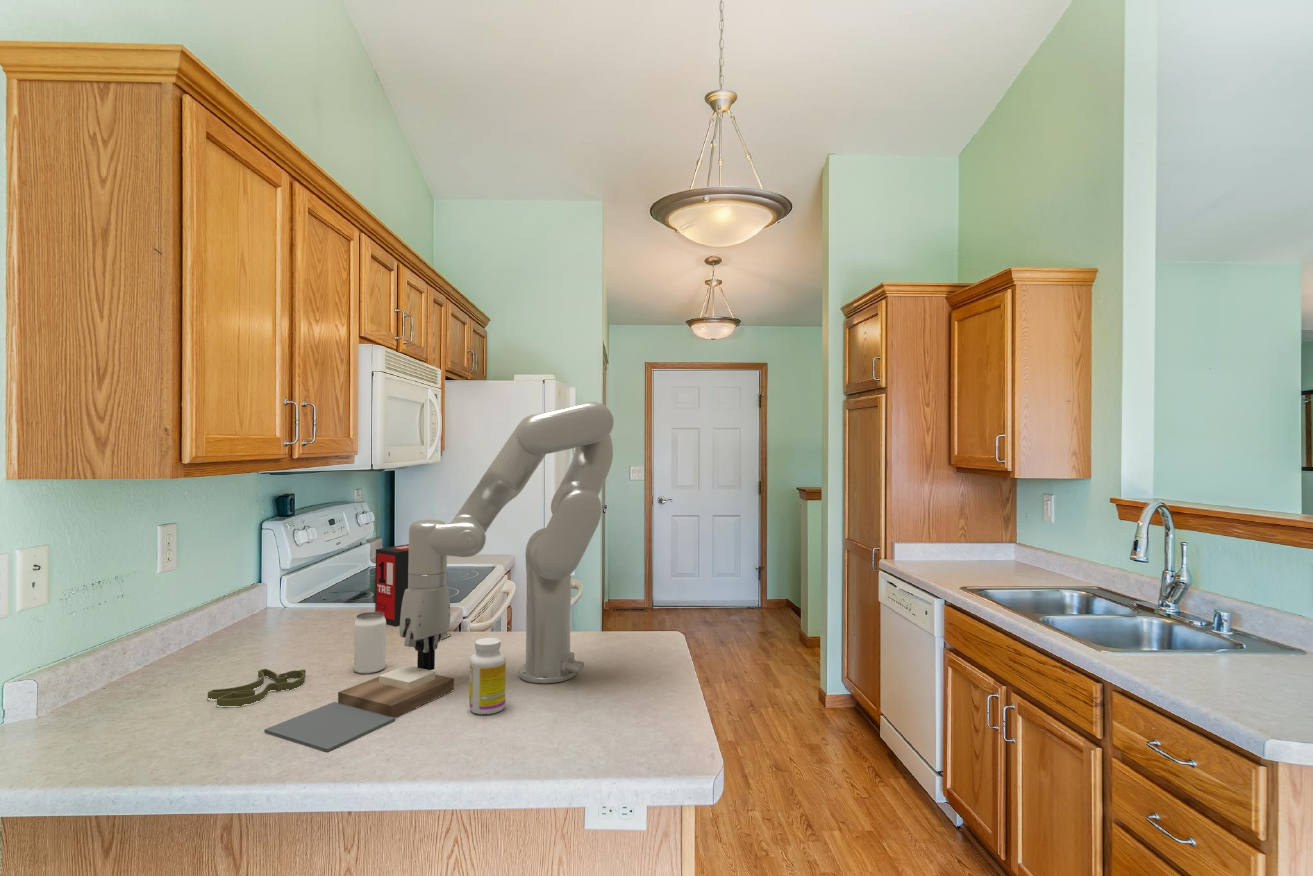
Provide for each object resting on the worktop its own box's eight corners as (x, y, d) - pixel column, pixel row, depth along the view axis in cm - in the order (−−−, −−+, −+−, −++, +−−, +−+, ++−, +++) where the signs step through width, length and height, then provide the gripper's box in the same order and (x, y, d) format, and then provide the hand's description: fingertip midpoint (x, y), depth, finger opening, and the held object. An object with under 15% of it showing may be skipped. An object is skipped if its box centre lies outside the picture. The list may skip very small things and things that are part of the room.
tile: (435, 678, 138) (435, 671, 138) (408, 690, 132) (408, 682, 132) (406, 672, 142) (406, 665, 142) (379, 683, 135) (379, 675, 135)
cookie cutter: (270, 674, 148) (270, 665, 148) (317, 680, 145) (318, 670, 145) (196, 706, 130) (196, 696, 130) (248, 713, 127) (248, 702, 127)
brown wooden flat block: (453, 690, 139) (453, 678, 139) (391, 719, 124) (391, 705, 124) (403, 679, 145) (403, 667, 145) (338, 705, 130) (338, 692, 130)
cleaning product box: (423, 609, 203) (424, 541, 203) (444, 613, 198) (445, 544, 198) (375, 621, 189) (375, 549, 189) (396, 626, 184) (397, 552, 184)
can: (374, 675, 147) (374, 619, 147) (347, 673, 148) (347, 617, 148) (391, 665, 153) (392, 612, 153) (365, 663, 154) (366, 610, 154)
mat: (395, 720, 124) (395, 717, 124) (327, 752, 111) (327, 749, 111) (334, 704, 131) (334, 701, 131) (264, 732, 118) (264, 729, 118)
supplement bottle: (512, 706, 131) (513, 639, 131) (487, 718, 125) (488, 648, 125) (486, 699, 134) (487, 634, 134) (461, 711, 129) (462, 642, 129)
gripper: (440, 572, 150) (438, 656, 150) (385, 585, 136) (383, 677, 136) (466, 576, 146) (465, 662, 146) (413, 589, 133) (411, 684, 133)
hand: (425, 669), depth 141 cm, fingers closed
